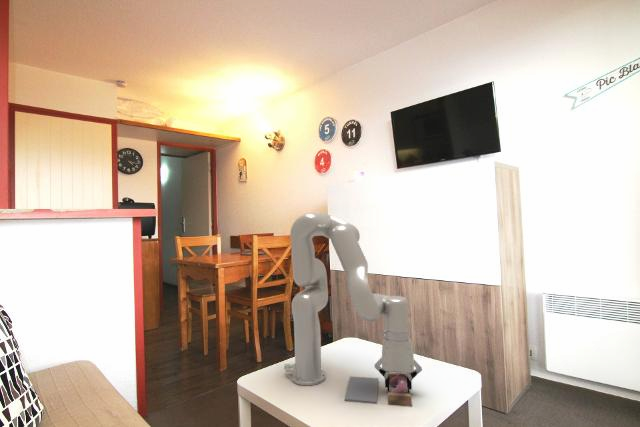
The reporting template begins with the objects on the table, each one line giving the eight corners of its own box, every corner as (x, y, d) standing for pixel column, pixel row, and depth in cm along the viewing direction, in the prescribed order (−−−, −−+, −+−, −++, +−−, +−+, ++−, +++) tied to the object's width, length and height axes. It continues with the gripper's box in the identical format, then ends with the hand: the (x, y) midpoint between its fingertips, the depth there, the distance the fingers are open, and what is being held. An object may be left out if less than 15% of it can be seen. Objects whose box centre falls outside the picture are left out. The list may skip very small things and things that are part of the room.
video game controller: (401, 405, 107) (411, 385, 107) (388, 398, 108) (397, 378, 107) (400, 390, 117) (409, 372, 116) (388, 383, 118) (396, 365, 117)
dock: (388, 404, 105) (387, 394, 105) (388, 380, 121) (388, 372, 121) (411, 406, 104) (411, 396, 104) (408, 382, 119) (408, 373, 119)
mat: (344, 401, 108) (344, 399, 108) (350, 378, 123) (350, 376, 123) (376, 403, 106) (376, 401, 106) (378, 380, 121) (378, 378, 121)
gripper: (370, 337, 111) (371, 393, 110) (425, 340, 107) (426, 398, 107) (371, 330, 118) (372, 383, 118) (423, 332, 115) (424, 387, 114)
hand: (398, 389), depth 112 cm, fingers closed on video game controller, 5 cm apart
